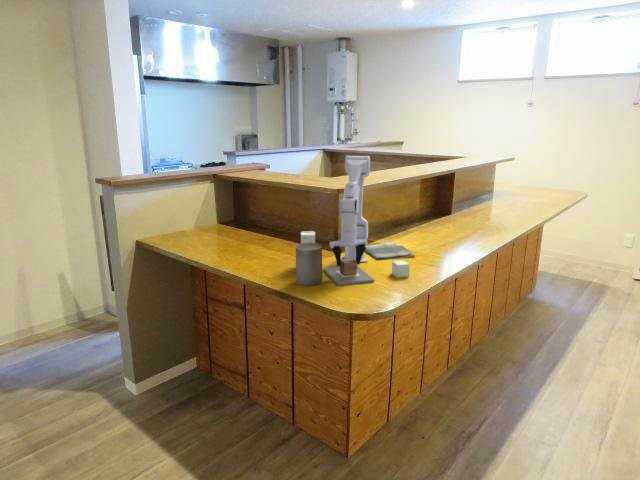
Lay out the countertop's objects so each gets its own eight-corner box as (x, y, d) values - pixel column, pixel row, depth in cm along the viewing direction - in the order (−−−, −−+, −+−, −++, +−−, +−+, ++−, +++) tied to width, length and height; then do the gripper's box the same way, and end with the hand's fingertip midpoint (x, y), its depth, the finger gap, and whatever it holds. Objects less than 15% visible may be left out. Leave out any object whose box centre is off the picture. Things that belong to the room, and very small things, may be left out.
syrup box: (314, 264, 187) (314, 230, 183) (315, 269, 181) (315, 234, 177) (301, 264, 187) (300, 230, 183) (300, 269, 181) (300, 234, 177)
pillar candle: (321, 277, 172) (321, 238, 168) (322, 285, 162) (322, 245, 159) (296, 277, 172) (295, 239, 168) (295, 286, 162) (294, 246, 158)
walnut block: (339, 272, 174) (340, 259, 173) (352, 270, 176) (352, 258, 174) (344, 276, 170) (344, 263, 168) (356, 274, 171) (357, 262, 170)
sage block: (391, 273, 176) (392, 261, 175) (403, 272, 178) (403, 260, 176) (397, 277, 172) (397, 265, 170) (409, 276, 173) (409, 264, 172)
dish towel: (376, 261, 193) (377, 254, 192) (362, 250, 210) (362, 244, 209) (416, 258, 198) (416, 251, 197) (398, 247, 215) (399, 241, 214)
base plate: (323, 270, 180) (323, 267, 179) (357, 267, 183) (357, 265, 183) (337, 285, 163) (337, 282, 163) (374, 282, 166) (374, 279, 166)
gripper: (333, 233, 163) (333, 269, 166) (371, 231, 167) (369, 266, 170) (327, 229, 169) (327, 263, 173) (364, 226, 173) (363, 260, 177)
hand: (348, 264), depth 172 cm, fingers open, 7 cm apart
